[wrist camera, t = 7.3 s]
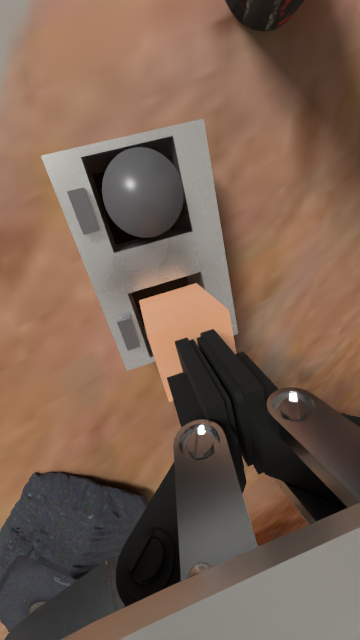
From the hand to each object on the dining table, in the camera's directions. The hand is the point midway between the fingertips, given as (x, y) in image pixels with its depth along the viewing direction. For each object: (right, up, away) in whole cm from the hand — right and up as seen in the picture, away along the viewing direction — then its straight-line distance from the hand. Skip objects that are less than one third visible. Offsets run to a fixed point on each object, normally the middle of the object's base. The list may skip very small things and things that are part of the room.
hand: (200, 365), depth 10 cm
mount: (-3, +7, +9) cm, 11 cm away
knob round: (-4, +10, +6) cm, 12 cm away
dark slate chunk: (-14, -24, +19) cm, 33 cm away
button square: (-1, +2, +5) cm, 6 cm away
